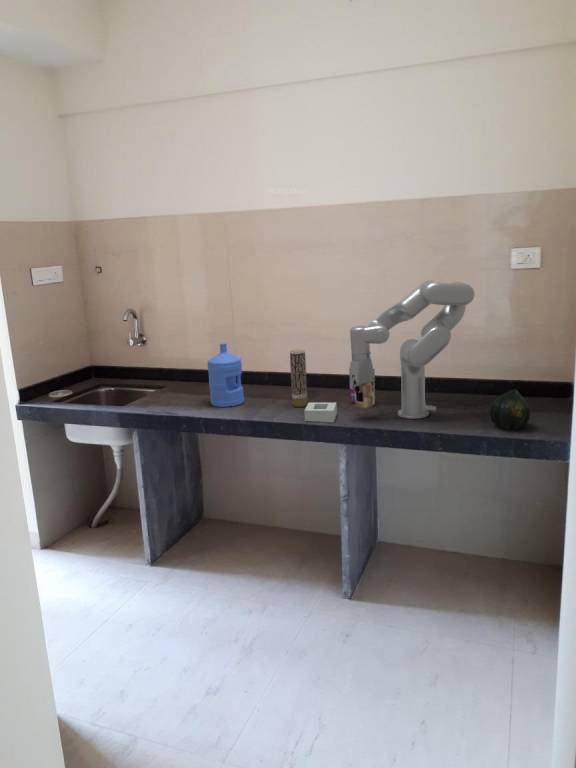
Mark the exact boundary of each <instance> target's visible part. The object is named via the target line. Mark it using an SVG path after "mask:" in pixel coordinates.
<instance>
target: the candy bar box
mask: <svg viewBox="0 0 576 768" xmlns="http://www.w3.org/2000/svg"><path fill="white" fill-rule="evenodd" d="M348 369H349V374H350V367H349V368H348ZM373 372H374V378H375V377H376V376H375V368H373ZM375 379H376V378H375ZM375 381H376V380H375ZM375 381H374V383H373V384H372V400H373V406H374V405H376V388H375V387H376V382H375ZM349 401H350V404H355V390H353V389H352V388H350V387H349Z"/></svg>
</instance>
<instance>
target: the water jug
mask: <svg viewBox="0 0 576 768" xmlns="http://www.w3.org/2000/svg"><path fill="white" fill-rule="evenodd" d="M227 344H228V343H220V344H219V350H220V351H219V353H218V354H216V355H215V356H212V357H210V358H209V359H207V371H208V386H209V393H210V397H209V398H210V399H209V401H210V404H211V405H212V406H213V407H216V406H217V407H216V408H231V407H230V406H232V407H237V406H240V405H242V404H243V403H244V401H245V396H244V387H243V386H242V379H241V376H242V373H243V370H242V368H243V363H242V359H241V357H240V356H237V355H234V354H232V353H230V352H228V349H227V348H228V347H227ZM236 405H237V406H236Z"/></svg>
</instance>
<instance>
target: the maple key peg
mask: <svg viewBox="0 0 576 768" xmlns="http://www.w3.org/2000/svg"><path fill="white" fill-rule="evenodd" d="M358 388H359V386H358ZM361 392H362V393H363V402H360V401H357V400H356V392H355V407H358V408H362V409H368V408H371V407H373V406H374V405H373V400H372V384H371V382H369V383H366V384H363V385H362V390H361Z"/></svg>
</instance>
